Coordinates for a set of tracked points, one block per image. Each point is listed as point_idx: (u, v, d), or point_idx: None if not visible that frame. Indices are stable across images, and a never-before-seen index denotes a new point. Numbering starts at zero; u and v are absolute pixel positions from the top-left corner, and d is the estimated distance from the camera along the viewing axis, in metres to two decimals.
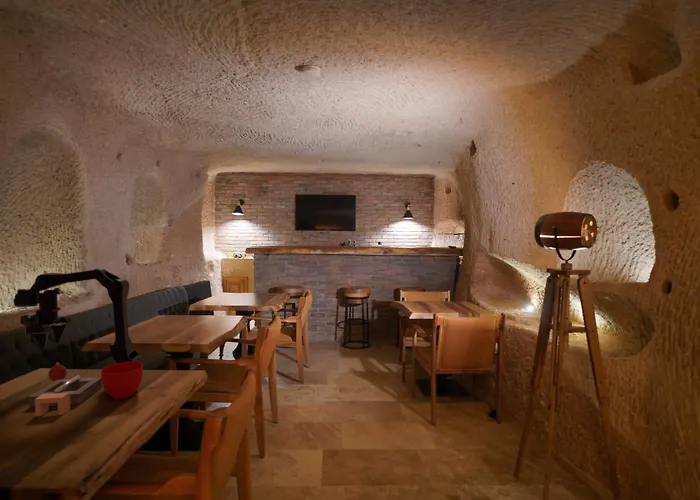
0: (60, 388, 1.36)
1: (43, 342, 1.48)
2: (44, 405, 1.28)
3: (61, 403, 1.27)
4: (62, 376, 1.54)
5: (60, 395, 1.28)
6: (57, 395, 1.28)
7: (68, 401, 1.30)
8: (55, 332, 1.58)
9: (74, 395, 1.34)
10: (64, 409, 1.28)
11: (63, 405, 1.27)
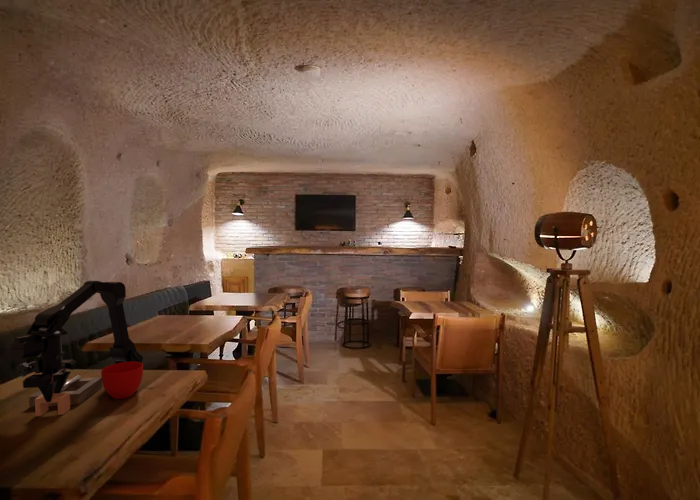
0: None
1: (49, 393, 1.25)
2: (44, 405, 1.28)
3: (61, 403, 1.27)
4: None
5: (60, 395, 1.28)
6: (57, 395, 1.28)
7: (68, 401, 1.30)
8: None
9: (74, 395, 1.34)
10: (64, 409, 1.28)
11: (63, 404, 1.27)
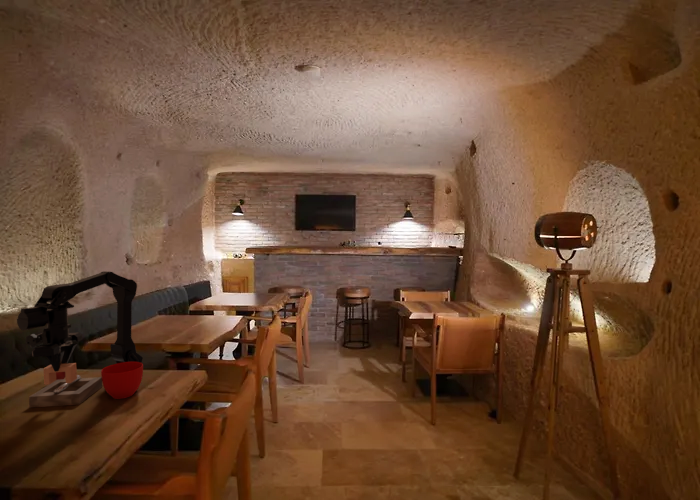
0: (60, 388, 1.36)
1: (57, 362, 1.31)
2: (52, 375, 1.34)
3: (68, 372, 1.33)
4: (62, 376, 1.54)
5: (67, 365, 1.34)
6: (64, 365, 1.34)
7: (75, 371, 1.36)
8: None
9: (74, 395, 1.34)
10: (71, 378, 1.34)
11: (71, 374, 1.34)
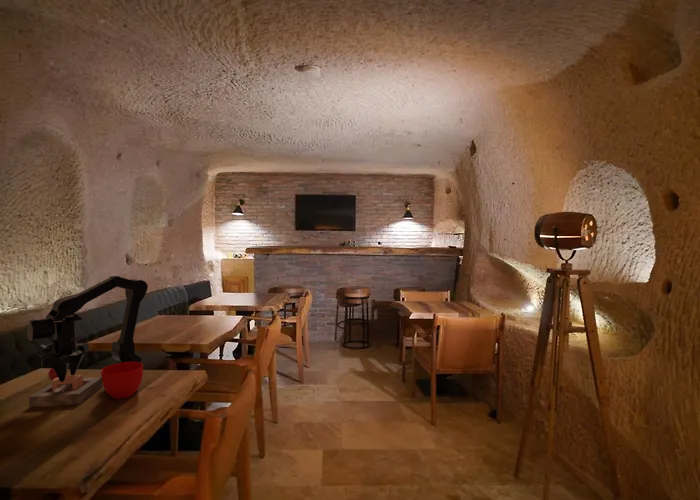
0: (60, 388, 1.36)
1: (63, 373, 1.37)
2: None
3: (75, 384, 1.40)
4: None
5: (74, 377, 1.41)
6: (71, 377, 1.41)
7: (81, 382, 1.43)
8: (70, 363, 1.45)
9: (74, 395, 1.34)
10: None
11: (77, 385, 1.40)
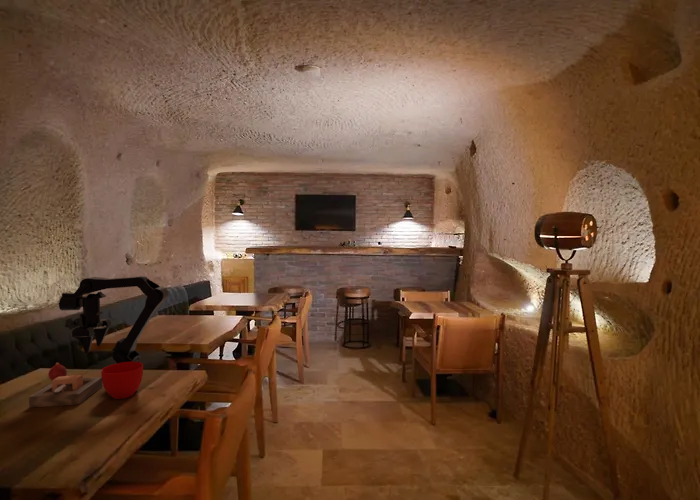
0: (60, 388, 1.36)
1: (88, 345, 1.51)
2: None
3: (75, 384, 1.40)
4: None
5: (74, 377, 1.41)
6: (71, 377, 1.41)
7: (81, 382, 1.43)
8: (96, 335, 1.61)
9: (74, 395, 1.34)
10: None
11: (77, 385, 1.40)
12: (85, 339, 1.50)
